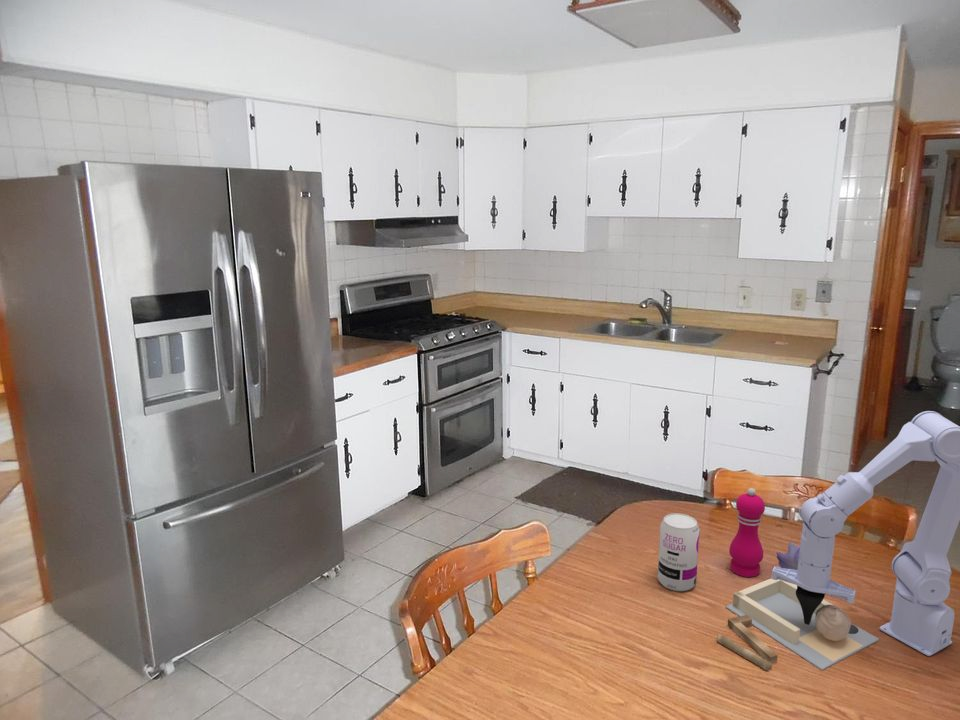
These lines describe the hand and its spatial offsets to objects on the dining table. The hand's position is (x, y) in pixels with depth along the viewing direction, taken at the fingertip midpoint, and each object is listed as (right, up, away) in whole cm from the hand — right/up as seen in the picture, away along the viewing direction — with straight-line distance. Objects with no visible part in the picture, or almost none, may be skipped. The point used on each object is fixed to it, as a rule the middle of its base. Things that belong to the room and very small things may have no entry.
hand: (807, 621), depth 133 cm
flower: (+7, +3, +18) cm, 19 cm away
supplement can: (-21, +2, +17) cm, 27 cm away
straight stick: (-15, -2, -7) cm, 17 cm away
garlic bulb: (+3, -2, -3) cm, 4 cm away
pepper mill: (-4, +3, +21) cm, 22 cm away
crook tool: (-11, -3, -3) cm, 12 cm away
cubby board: (-1, -1, +2) cm, 2 cm away
